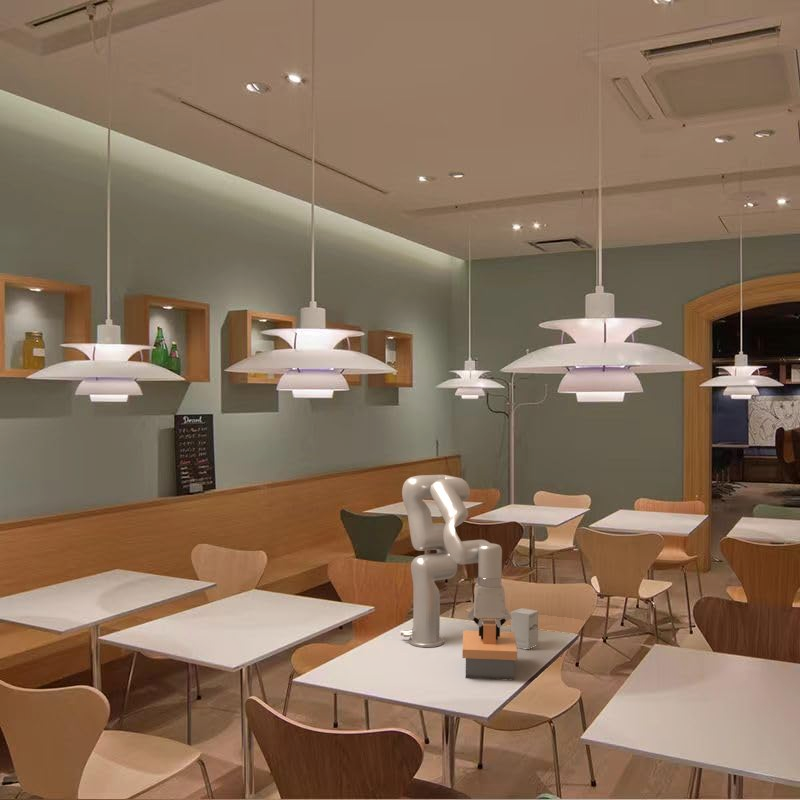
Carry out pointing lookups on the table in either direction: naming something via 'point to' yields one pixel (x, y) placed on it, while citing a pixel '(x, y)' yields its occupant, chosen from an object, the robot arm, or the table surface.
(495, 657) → the lid
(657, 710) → the table surface
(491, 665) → the tub
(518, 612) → the supplement box
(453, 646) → the table surface
